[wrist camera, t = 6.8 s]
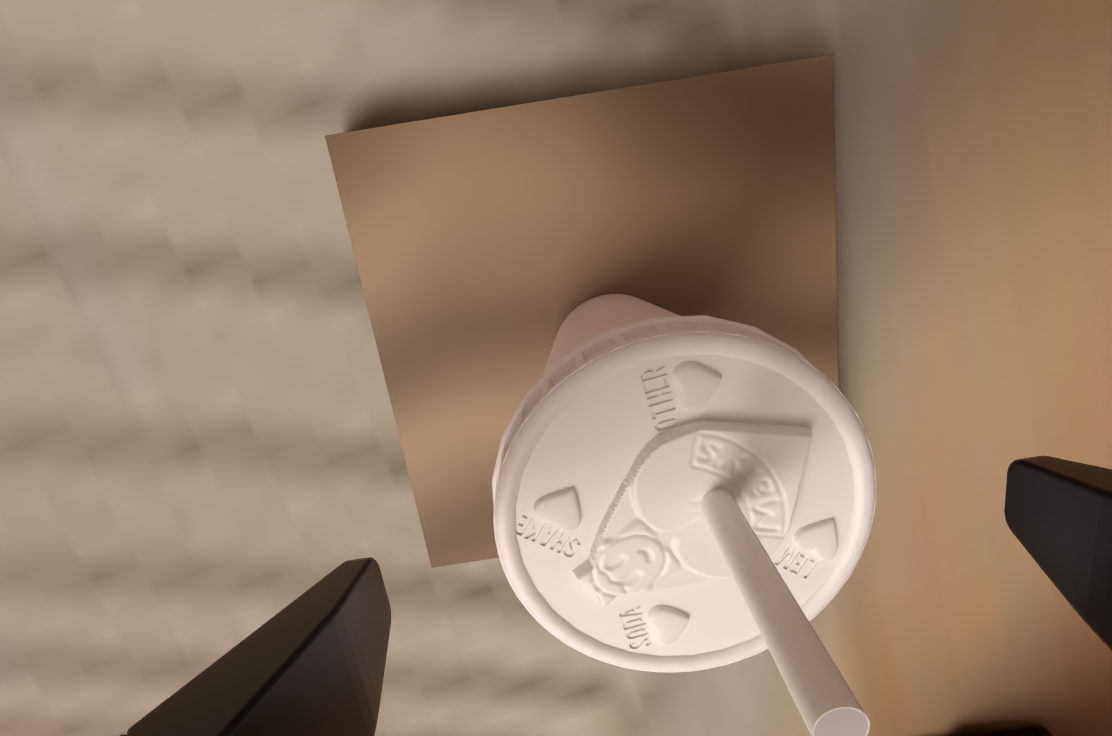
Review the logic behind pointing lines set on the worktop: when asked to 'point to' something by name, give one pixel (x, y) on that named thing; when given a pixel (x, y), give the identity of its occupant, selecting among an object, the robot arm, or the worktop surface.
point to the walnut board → (580, 247)
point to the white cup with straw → (686, 499)
